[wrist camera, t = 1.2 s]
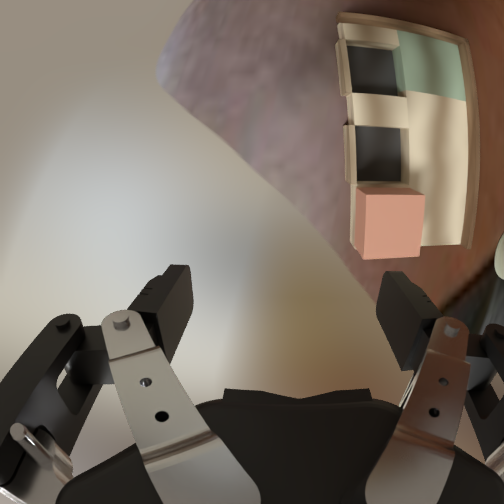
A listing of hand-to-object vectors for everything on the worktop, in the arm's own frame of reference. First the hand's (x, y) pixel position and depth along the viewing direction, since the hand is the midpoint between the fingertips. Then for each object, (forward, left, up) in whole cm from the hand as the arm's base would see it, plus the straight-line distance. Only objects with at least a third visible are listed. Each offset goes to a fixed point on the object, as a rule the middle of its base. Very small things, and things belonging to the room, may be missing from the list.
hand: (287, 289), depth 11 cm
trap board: (-14, -7, -19) cm, 25 cm away
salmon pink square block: (-10, +2, -17) cm, 20 cm away
